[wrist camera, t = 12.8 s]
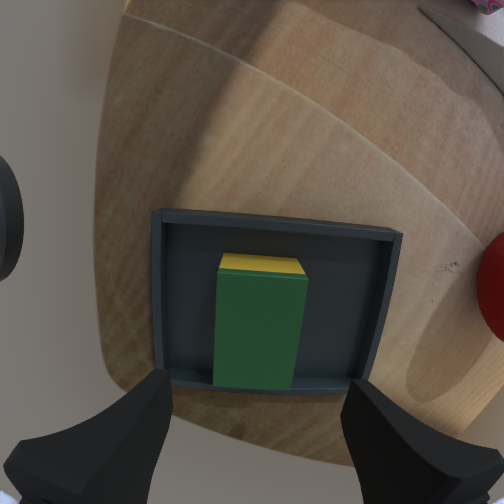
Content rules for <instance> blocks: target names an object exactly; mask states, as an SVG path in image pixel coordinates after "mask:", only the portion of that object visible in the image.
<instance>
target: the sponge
mask: <svg viewBox="0 0 504 504" xmlns="http://www.w3.org/2000/svg"><path fill="white" fill-rule="evenodd" d="M307 286H308V277H307V276H306V274H305V272H304V270H303V269H302V267H301V265H300V263H299V262H298V260H297V259H296V258H286V257H273V256H260V255H247V254H234V253H224V254H223V257H222V260H221V263H220V266H219V269H218V272H217V285H216V306H215V332H214V363H213V386H217V387H229V388H243V389H261V390H290V388H291V383H292V378H293V372H294V367H295V361H296V356H297V350H298V344H299V338H300V332H301V326H302V320H303V313H304V307H305V300H306V293H307Z"/></svg>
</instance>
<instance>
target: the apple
mask: <svg viewBox="0 0 504 504" xmlns="http://www.w3.org/2000/svg"><path fill="white" fill-rule="evenodd" d="M477 299H478V303H479V308H480V310H481V313H482V316H483V317H484V319H485V321H486V323H487V325H488V326H489V328H490V329H491V330H492V332H493V333H494V334H495V335H496V336H497V337H498V338H499V339H500V340H502V341H503V342H504V232H502V233H501V234H499V235H498V236H497V237H496V238H495V239H494V240H493V241H492V242H491V243H490V245H489V246H488V248H487V249H486V251H485V253H484V255H483V258H482V262H481V265H480V269H479V273H478V276H477Z"/></svg>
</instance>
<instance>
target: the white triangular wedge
mask: <svg viewBox="0 0 504 504" xmlns="http://www.w3.org/2000/svg"><path fill="white" fill-rule="evenodd" d="M419 8H420V10H421V11H422V12H423V13H425V14H426V15H427V16H428V17H429V18H430V19H432V20H433V21H434V22H435V23H436V24H437V25H438V26H439V27H441V28H442V29H443V30H444V31H445V32H446V33H447V34H448V35H449V36H450V37H451V38H452V39H454V40H455V41H456V42H457V43H458V44H459V45H460V46H461V47H462V48H463V49H464V50H465V51H466V52H467V53H468V54H469V55H470V56H471V57H472V59H473V60H474V61H475V62H476V63H477V64H478V65H479V66H480V67H481V68H482V69H483V70H484V72H485V73H486V74H487V75H488V76H489V77H490V78H491V80H492V81H493V82H494V83H495V84H496V86H497V87H498V88H499V89H500V90H501V92H502V93H503V94H504V47H503V46H502V45H500V44H499V43H497V42H495V41H494V40H492V39H490V38H488V37H487V36H485V35H483V34H481V33H479V32H478V31H476V30H474V29H472V28H470V27H468V26H466V25H464V24H462V23H460V22H458V21H456V20H454V19H452V18H450V17H447V16H445V15H443V14H440V13H438V12H436V11H433V10H431V9H428V8H425V7H422V6H419Z"/></svg>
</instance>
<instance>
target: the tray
mask: <svg viewBox="0 0 504 504" xmlns="http://www.w3.org/2000/svg"><path fill="white" fill-rule="evenodd" d="M402 236H403V233H401V232H398V231H396V230H393V229H391V228H387V227H378V226H369V225H361V224H352V223H342V222H333V221H323V220H313V219H302V218H292V217H281V216H269V215H257V214H244V213H231V212H217V211H202V210H187V209H169V208H161V209H158V210H156V211H153V212H152V233H151V280H152V313H153V333H154V349H155V362H156V369H163V370H170V376H171V386H177V387H185V388H193V389H202V390H212V391H223V392H236V393H251V394H274V395H335V394H347V393H348V390H349V386H350V383H351V380H352V379H366V380H367V381H368V379H369V376H370V373H371V369H372V366H373V363H374V360H375V356H376V353H377V349H378V346H379V342H380V339H381V335H382V331H383V327H384V324H385V320H386V316H387V312H388V307H389V303H390V299H391V294H392V290H393V285H394V280H395V275H396V270H397V265H398V260H399V254H400V249H401V243H402ZM224 253H234V254H247V255H260V256H273V257H286V258H296V259H297V260H298V262H299V263H300V265H301V267H302V269H303V270H304V272H305V274H306V276H307V277H308V286H307V293H306V300H305V307H304V313H303V320H302V326H301V332H300V338H299V344H298V350H297V356H296V361H295V367H294V372H293V378H292V383H291V388H290V390H261V389H243V388H229V387H217V386H213V363H214V332H215V306H216V285H217V272H218V269H219V266H220V263H221V260H222V257H223V254H224Z"/></svg>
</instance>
